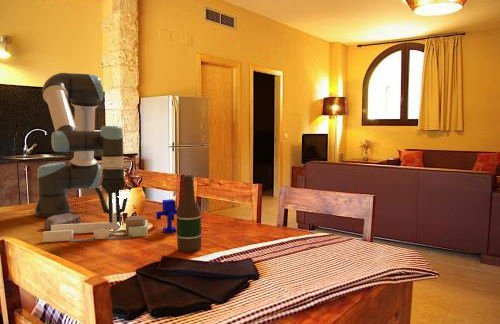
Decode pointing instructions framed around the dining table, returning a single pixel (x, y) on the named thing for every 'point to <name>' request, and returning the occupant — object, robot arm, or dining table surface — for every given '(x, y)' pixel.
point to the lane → (88, 231)
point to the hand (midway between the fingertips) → (115, 230)
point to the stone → (62, 220)
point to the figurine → (168, 214)
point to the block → (134, 222)
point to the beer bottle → (188, 219)
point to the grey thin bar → (94, 239)
